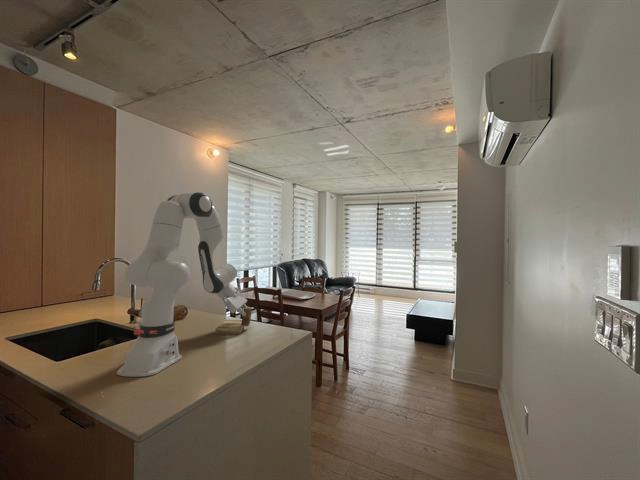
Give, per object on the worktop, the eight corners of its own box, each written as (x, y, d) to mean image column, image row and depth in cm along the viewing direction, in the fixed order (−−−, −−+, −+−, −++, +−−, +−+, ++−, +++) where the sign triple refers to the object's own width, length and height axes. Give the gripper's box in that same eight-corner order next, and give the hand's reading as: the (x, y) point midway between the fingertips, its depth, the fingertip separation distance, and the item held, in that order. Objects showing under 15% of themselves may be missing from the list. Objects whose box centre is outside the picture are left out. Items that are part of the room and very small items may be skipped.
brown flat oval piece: (161, 324, 160) (161, 308, 160) (159, 323, 162) (159, 308, 162) (188, 318, 172) (188, 304, 172) (185, 317, 174) (185, 303, 174)
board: (239, 334, 145) (239, 329, 145) (215, 333, 145) (215, 328, 145) (247, 324, 161) (247, 320, 161) (226, 324, 161) (226, 319, 161)
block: (247, 326, 151) (250, 309, 151) (241, 325, 151) (243, 308, 151) (249, 324, 154) (252, 307, 154) (243, 323, 154) (245, 306, 154)
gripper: (226, 294, 142) (246, 314, 142) (238, 287, 163) (255, 304, 163) (217, 303, 142) (236, 323, 142) (230, 295, 163) (247, 312, 163)
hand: (246, 313), depth 153 cm, fingers open, 5 cm apart
